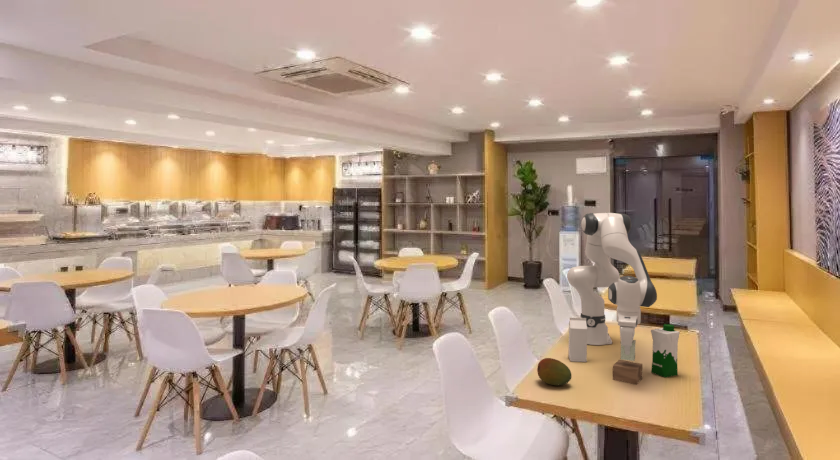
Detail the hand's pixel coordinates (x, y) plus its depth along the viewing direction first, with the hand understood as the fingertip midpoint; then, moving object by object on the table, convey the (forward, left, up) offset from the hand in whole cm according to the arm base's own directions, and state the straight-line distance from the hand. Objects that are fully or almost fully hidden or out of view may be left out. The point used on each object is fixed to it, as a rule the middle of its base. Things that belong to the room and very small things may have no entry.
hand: (628, 352), depth 193 cm
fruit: (+19, -25, -11) cm, 33 cm away
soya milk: (-13, +13, -11) cm, 21 cm away
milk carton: (-17, -22, -11) cm, 30 cm away
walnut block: (0, 0, -11) cm, 11 cm away
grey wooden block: (0, 0, -3) cm, 3 cm away
